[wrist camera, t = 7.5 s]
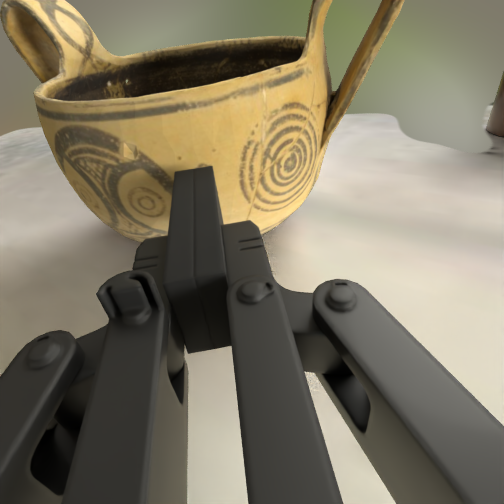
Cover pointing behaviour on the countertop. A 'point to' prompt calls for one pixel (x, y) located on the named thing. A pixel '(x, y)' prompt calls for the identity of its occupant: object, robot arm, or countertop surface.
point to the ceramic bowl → (187, 114)
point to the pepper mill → (497, 112)
